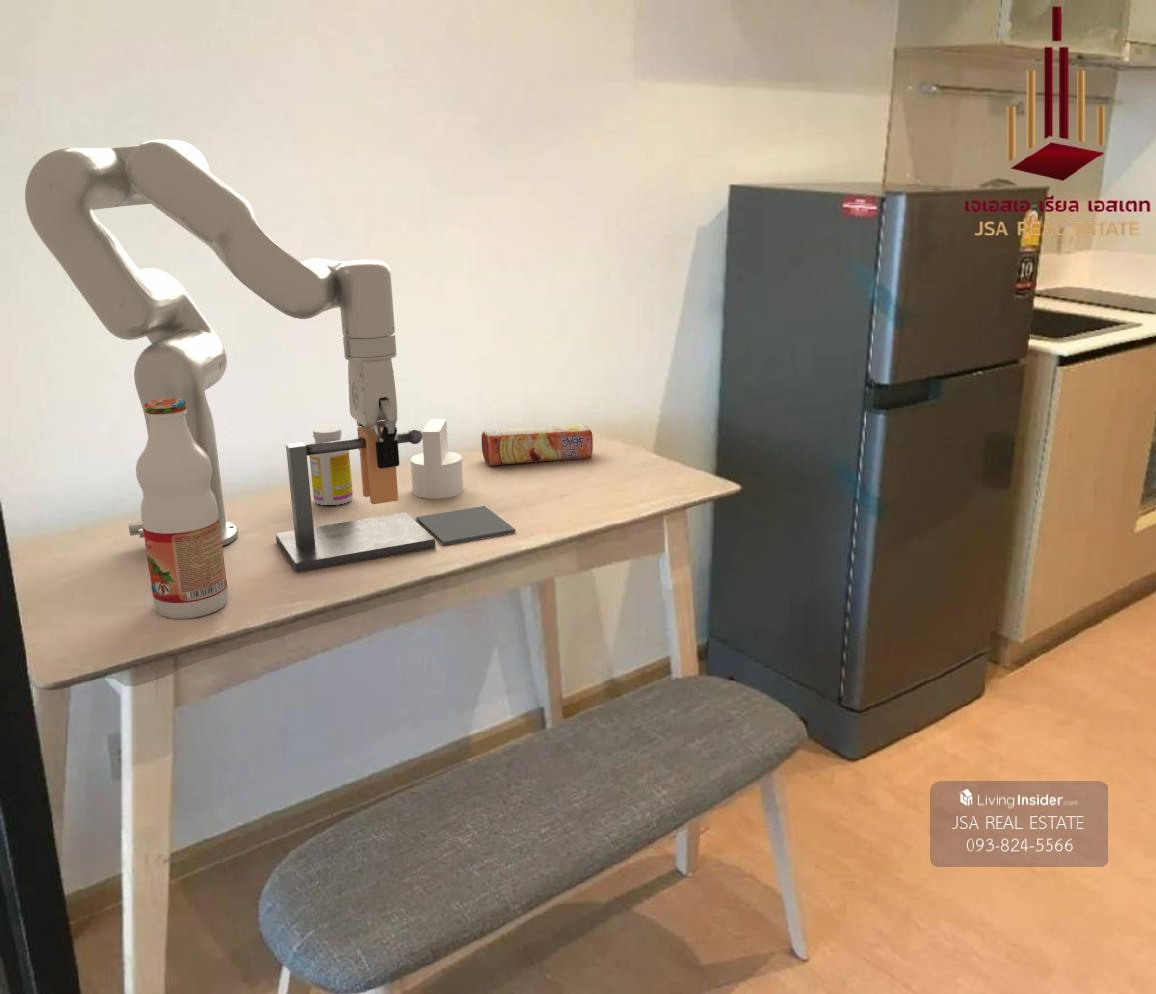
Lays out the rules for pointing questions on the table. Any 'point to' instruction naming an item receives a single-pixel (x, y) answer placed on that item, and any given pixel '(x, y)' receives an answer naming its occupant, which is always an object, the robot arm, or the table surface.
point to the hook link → (376, 471)
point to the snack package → (536, 444)
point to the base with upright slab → (436, 465)
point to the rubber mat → (464, 525)
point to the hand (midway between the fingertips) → (379, 458)
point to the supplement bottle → (330, 470)
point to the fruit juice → (180, 517)
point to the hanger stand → (347, 538)
